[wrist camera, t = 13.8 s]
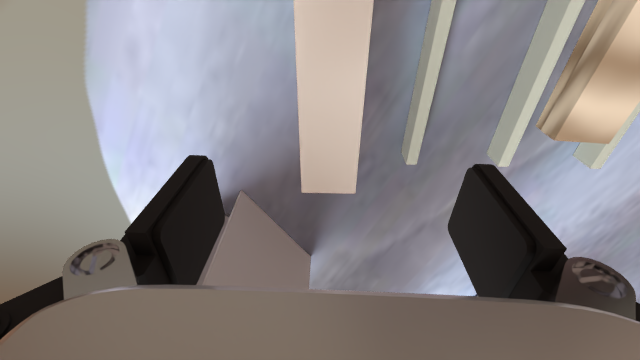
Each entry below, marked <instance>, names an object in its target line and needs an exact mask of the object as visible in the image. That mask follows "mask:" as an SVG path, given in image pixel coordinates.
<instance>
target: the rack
mask: <svg viewBox="0 0 640 360" xmlns="http://www.w3.org/2000/svg"><path fill="white" fill-rule="evenodd" d="M584 2H585V0H548V1H547V4H546V6H545V9H544V11H543V14H542V16H541V19H540V21H539V24H538V26H537V29H536V31H535V34H534V36H533V39H532V41H531V44H530V46H529V49H528V51H527V54H526V56H525V59H524V61H523V64H522V66H521V69H520V71H519V74H518V76H517V79H516V81H515V84H514V86H513V89H512V91H511V94H510V96H509V99H508V101H507V104H506V106H505V109H504V111H503V114H502V116H501V119H500V121H499V124H498V126H497V129H496V131H495V134H494V136H493V139H492V141H491V144H490V146H489V149H488V151H487V155H488V156H489V157H490V158H491V159H492V160H493V162H494V163H495V164H496V165H497V166H498V167H508V166H509V164H510V161H511V159H512V157H513V155H514V153H515V151H516V148H517V146H518V144H519V142H520V140H521V138H522V136H523V133H524V131H525V129H526V127H527V125H528V123H529V120H530V118H531V116H532V114H533V112H534V110H535V107H536V105H537V103H538V101H539V99H540V97H541V95H542V92H543V90H544V88H545V86H546V84H547V82H548V79H549V77H550V75H551V73H552V71H553V69H554V66H555V64H556V62H557V60H558V58H559V56H560V54H561V51H562V49H563V47H564V45H565V43H566V41H567V38H568V36H569V34H570V32H571V30H572V28H573V25H574V23H575V21H576V19H577V17H578V15H579V12H580V10H581V8H582V6H583V4H584ZM455 4H456V0H431V5H430V10H429V15H428V20H427V25H426V30H425V35H424V40H423V45H422V50H421V55H420V60H419V65H418V70H417V75H416V80H415V85H414V90H413V95H412V100H411V105H410V110H409V115H408V120H407V125H406V130H405V135H404V140H403V145H402V150H401V153H402V155H403V158H404V160H405V163H406V164H407V165H416V164H417V160H418V156H419V152H420V148H421V144H422V140H423V136H424V131H425V127H426V123H427V119H428V115H429V111H430V107H431V103H432V99H433V94H434V90H435V86H436V82H437V78H438V74H439V70H440V66H441V62H442V58H443V53H444V49H445V45H446V41H447V37H448V33H449V29H450V25H451V21H452V16H453V12H454V8H455ZM639 112H640V102H639V103H638V105H637V106H636V107H635V109H634V110H633V111H632V113H631V114H630V116H629V117H628V118H627V120H626V121H625V122H624V124H623V125H622V127H621V128H620V129H619V131H618V132H617V133H616V135H615V136H614V138H613V139H612V140H611V142H610V143H609V144H601V143H587V142H580V144H579V146H578V147H577V149H576V151H575V152H574V154H573V156H574V157H575V158H577V159H578V160H579V161H581V162H582V163H583V164H585V165H586V166H587V167H589V168H590V169H601V167H602V166H603V164H604V163H605V161H606V160H607V158H608V157H609V155H610V154H611V153H612V151H613V150H614V148H615V147H616V145H617V144H618V142H619V141H620V139H621V138H622V136H623V135H624V134H625V132H626V131H627V129H628V128H629V126H630V125H631V123H632V122H633V120H634V119H635V118H636V116H637V115H638V113H639Z"/></svg>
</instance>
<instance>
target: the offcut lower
mask: <svg viewBox="0 0 640 360" xmlns="http://www.w3.org/2000/svg"><path fill="white" fill-rule="evenodd" d="M612 1H613V0H598V2H597V4H596V6H595V8H594V10H593V12H592V14H591V16H590V18H589V20H588V22H587V24H586V26H585V28H584V30H583V32H582V34H581V36H580V38H579V40H578V42H577V44H576V46H575V48H574V50H573V52H572V54H571V56H570V58H569V60H568V62H567V64H566V66H565V68H564V70H563V72H562V74H561V76H560V78H559V80H558V82H557V84H556V86H555V88H554V90H553V92H552V94H551V96H550V98H549V100H548V102H547V104H546V106H545V108H544V110H543V112H542V114H541V116H540V118H539V120H538V122H537V124H536V127H538V128H539V129H540V130H541V129H542V127H543V125H544V123H545V122H546V120H547V118H548V116H549V114H550V113H551V111H552V109H553V107H554V105H555V104H556V102H557V100H558V98H559V96H560V95H561V93H562V91H563V89H564V87H565V86H566V84H567V82H568V80H569V78H570V77H571V75H572V73H573V71H574V69H575V68H576V66H577V64H578V62H579V60H580V59H581V57H582V55H583V53H584V51H585V50H586V48H587V46H588V44H589V42H590V41H591V39H592V37H593V35H594V33H595V32H596V30H597V28H598V26H599V24H600V23H601V21H602V19H603V17H604V15H605V14H606V12H607V10H608V8H609V6H610V5H611V3H612Z"/></svg>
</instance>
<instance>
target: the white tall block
mask: <svg viewBox="0 0 640 360" xmlns="http://www.w3.org/2000/svg"><path fill="white" fill-rule="evenodd" d="M310 262H311V256H310V255H309V254H307V253H306V252H305V251H304V250H303V249H302V248H301V247H300V246H299V245H298V244H297V243H296V242H295V241H294V240H293V239H292V238H291V237H290V236H289V235H288V234H287V233H286V232H285V231H284V230H283V229H282V228H281V227H279V226H278V225H277V224H276V223H275V222H274V221H273V220H272V219H271V218H270V217H269V216H268V215H267V214H266V213H265V212H264V211H263V210H262V209H261V208H260V207H259V206H258V205H257V204H256V203H255V202H254V201H253V200H251V199H250V198H249V197H248V196H247V195H246V194H245V193H244V192H243V191H242V190H241V191H240V192H239V195H238V197H237V200H236V202H235V205H234V207H233V210H232V212H231V215H230V217H228V216H226V215H225V222H224V225H223V227H222V229H221V232H220V234H219V236H218V238H217V240H216V243H215V245H214V247H213V249H212V251H211V254H210V256H209V258H208V260H207V262H206V265H205V267H204V269H203V271H202V274H201V276H200V278H199V280H198V282H197V285H214V286H244V287H271V288H298V289H309V279H310Z"/></svg>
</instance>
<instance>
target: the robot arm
mask: <svg viewBox="0 0 640 360" xmlns="http://www.w3.org/2000/svg"><path fill="white" fill-rule="evenodd" d="M224 222H225V213H224V209H223V205H222V200H221V196H220V191H219V187H218V183H217V178H216V174H215V169H214V165H213V162H212V160H208V158H207V157H206V156H200V155H189V156H188V157H187V158H186V159H185V160H184V162H183V163H182V164H181V165H180V166H179V168H178V169H177V170H176V171H175V172H174V174H173V175H172V176H171V177H170V178H169V180H168V181H167V182H166V183H165V184H164V186H163V187H162V188H161V189H160V190H159V192H158V193H157V194H156V195H155V196H154V198H153V199H152V200H151V201H150V202H149V204H148V205H147V206H146V207H145V208H144V209H143V211H142V212H141V213H140V214H139V215H138V217H137V218H136V219H135V220H134V221H133V223H132V224H131V225H130V226H129V227H128V229H127V230H126V231H125V235H124V237H123V238H122V239H121V240H120V241H119V240H116V239H106V240H100V241H97V242H94V243H91V244H89V245H86V246H84V247H83V248H81V249H79V250H78V251H76V252H75V253H74V254H73V255H72V256H71V257H70V258H69V259H68V260H67V261H66V263H65V264H64V266H63V271H62V275H63V276H62V277H59V278H57V279H55V280H53V281H51V282H49V283H46V284H44V285H42V286H40V287H37V288H35V289H33V290H31V291H29V292H27V293H24V294H22V295H20V296H18V297H16V298H13V299H11V300H9V301H7V302H5V303H3V304H0V360H640V304H639V303H637V302H636V295H635V291H634V288H633V287H632V286H631V284H630V283H629V281H628V280H626V279H625V278H624V277H623V276H622V275H621V274H620V273H618V272H617V271H615V270H614V269H612V268H611V267H609V266H607V265H605V264H603V263H601V262H598V261H595V260H592V259H589V258H583V257H573V258H570V259H568V258H567V257H566V255H565V254H564V252H565V251H566V249H567V248H566V247H565V246H564V245H563V244H562V243H561V241H560V240H559V239H558V238H557V237H556V236H555V235H554V233H553V232H552V231H551V230H550V229H549V228H548V227H547V225H546V224H545V223H544V222H543V221H542V220H541V219H540V217H539V216H538V215H537V214H536V213H535V212H534V211H533V209H532V208H531V207H530V206H529V205H528V204H527V203H526V201H525V200H524V199H523V198H522V197H521V196H520V195H519V193H518V192H517V191H516V190H515V189H514V188H513V187H512V185H511V184H510V183H509V182H508V181H507V180H506V178H505V177H504V176H503V175H502V174H501V173H500V172H499V170H498V169H497V168H496V167H495V166H494V165H490V164H475V165H474V166H473V167H472V168H469V169H468V170H467V172H466V175H465V177H464V180H463V183H462V186H461V189H460V191H459V194H458V197H457V200H456V203H455V206H454V208H453V211H452V214H451V217H450V220H449V223H448V231H449V234H450V236H451V238H452V240H453V243H454V245H455V247H456V249H457V251H458V253H459V256H460V258H461V260H462V262H463V264H464V267H465V269H466V271H467V273H468V275H469V277H470V280H471V282H472V284H473V286H474V288H475V291H476V293H477V296H456V295H435V294H414V293H393V292H370V291H346V290H322V289H298V288H271V287H244V286H214V285H197V282H198V280H199V278H200V276H201V274H202V271H203V269H204V267H205V265H206V262H207V260H208V258H209V256H210V254H211V251H212V249H213V247H214V245H215V243H216V240H217V238H218V236H219V234H220V232H221V229H222V227H223V225H224Z"/></svg>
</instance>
